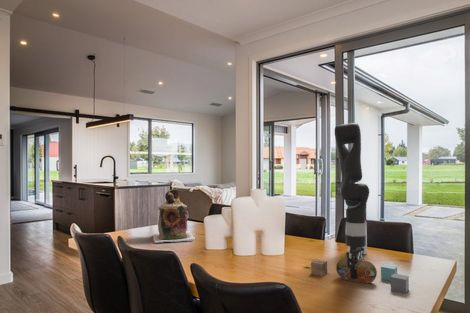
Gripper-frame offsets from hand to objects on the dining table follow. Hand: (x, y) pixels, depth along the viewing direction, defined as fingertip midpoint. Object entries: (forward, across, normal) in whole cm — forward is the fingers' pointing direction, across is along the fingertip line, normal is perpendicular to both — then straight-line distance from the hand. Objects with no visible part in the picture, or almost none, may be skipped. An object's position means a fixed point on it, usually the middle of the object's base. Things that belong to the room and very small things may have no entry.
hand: (356, 276), depth 130 cm
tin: (+2, 0, 0) cm, 2 cm away
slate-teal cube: (+2, -10, +10) cm, 14 cm away
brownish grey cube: (+2, +1, -15) cm, 15 cm away
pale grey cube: (+2, +1, +16) cm, 16 cm away
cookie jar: (+2, -8, -116) cm, 116 cm away
